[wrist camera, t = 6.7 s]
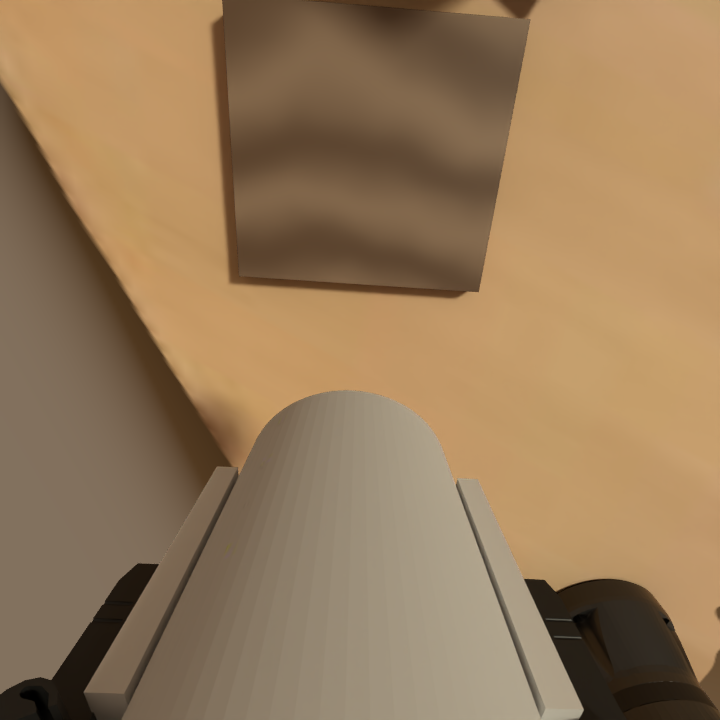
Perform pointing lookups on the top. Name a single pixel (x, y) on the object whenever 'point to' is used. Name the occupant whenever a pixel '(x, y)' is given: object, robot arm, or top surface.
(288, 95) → the walnut board
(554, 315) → the top surface
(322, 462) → the beige cylinder
